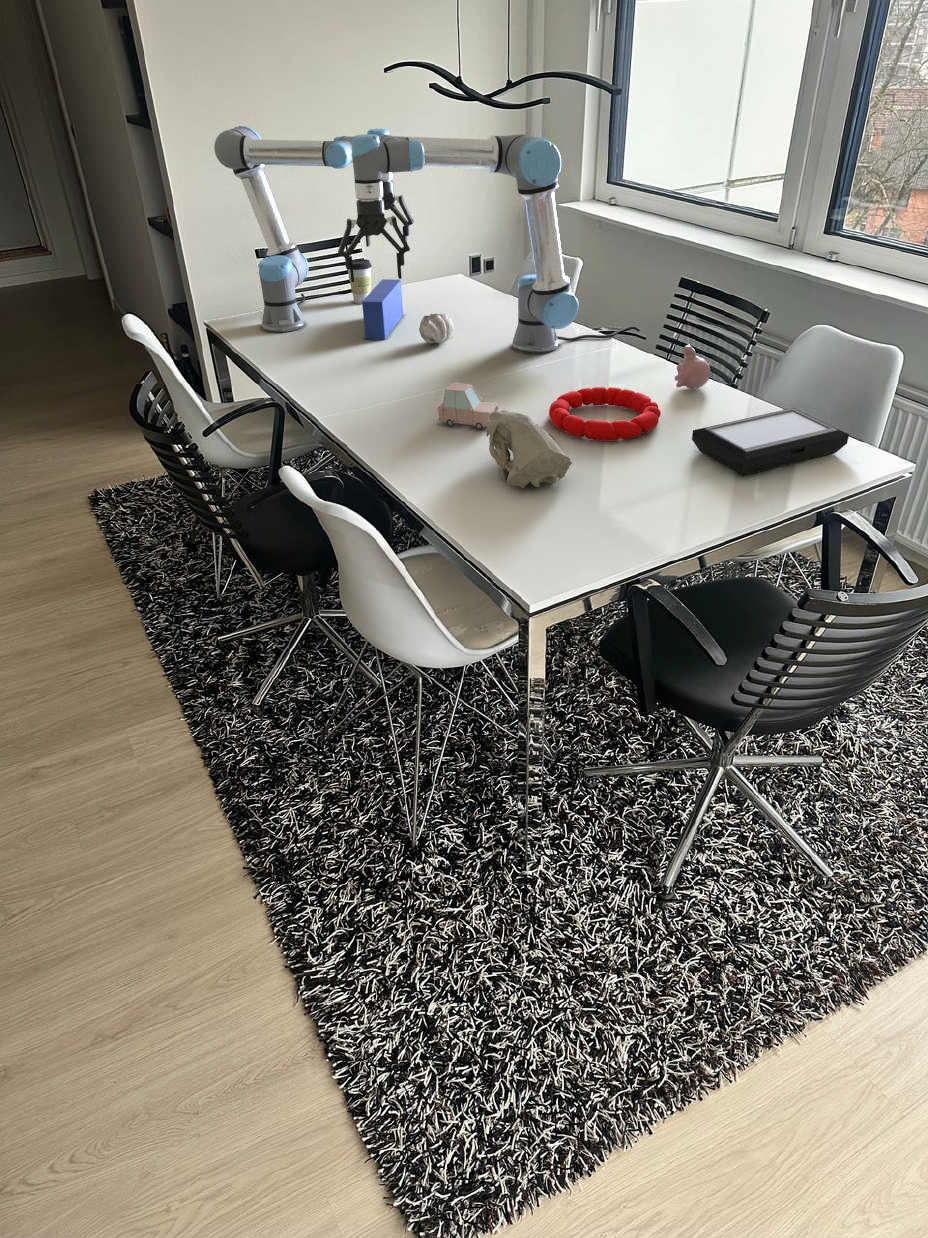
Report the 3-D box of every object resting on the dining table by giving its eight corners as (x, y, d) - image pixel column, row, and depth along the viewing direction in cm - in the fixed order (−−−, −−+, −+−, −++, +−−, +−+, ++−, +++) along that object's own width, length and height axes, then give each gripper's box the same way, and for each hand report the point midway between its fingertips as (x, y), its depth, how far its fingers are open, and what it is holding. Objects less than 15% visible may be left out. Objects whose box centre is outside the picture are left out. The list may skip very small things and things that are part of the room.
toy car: (488, 432, 240) (488, 396, 234) (436, 426, 244) (434, 390, 239) (499, 419, 247) (499, 384, 241) (448, 413, 252) (447, 379, 246)
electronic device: (744, 456, 208) (693, 426, 223) (740, 480, 212) (690, 450, 227) (850, 430, 218) (794, 404, 233) (844, 454, 222) (789, 427, 237)
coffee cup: (373, 304, 347) (369, 264, 338) (348, 305, 347) (344, 264, 339) (375, 297, 355) (372, 258, 347) (351, 298, 355) (347, 258, 347)
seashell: (411, 342, 306) (409, 313, 300) (450, 335, 312) (448, 306, 306) (425, 350, 298) (423, 320, 293) (464, 342, 304) (463, 313, 299)
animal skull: (496, 517, 219) (521, 479, 201) (463, 429, 225) (484, 384, 207) (557, 503, 225) (586, 465, 206) (523, 417, 231) (549, 373, 212)
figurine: (665, 387, 264) (669, 347, 257) (693, 380, 268) (698, 340, 261) (686, 396, 257) (690, 355, 250) (714, 388, 262) (720, 348, 255)
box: (384, 314, 335) (382, 279, 328) (403, 315, 334) (400, 279, 327) (365, 339, 311) (361, 301, 304) (385, 339, 310) (382, 301, 303)
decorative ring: (589, 435, 224) (684, 402, 234) (527, 398, 247) (617, 369, 256) (589, 461, 229) (683, 427, 238) (529, 422, 251) (617, 393, 260)
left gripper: (344, 182, 304) (350, 247, 316) (415, 181, 301) (419, 248, 313) (349, 178, 311) (355, 243, 323) (419, 178, 307) (423, 243, 319)
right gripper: (324, 203, 239) (333, 285, 251) (416, 198, 242) (421, 279, 254) (323, 199, 245) (332, 279, 257) (413, 193, 248) (417, 272, 261)
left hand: (386, 245), depth 318 cm, fingers open, 13 cm apart
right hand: (376, 279), depth 256 cm, fingers open, 13 cm apart
